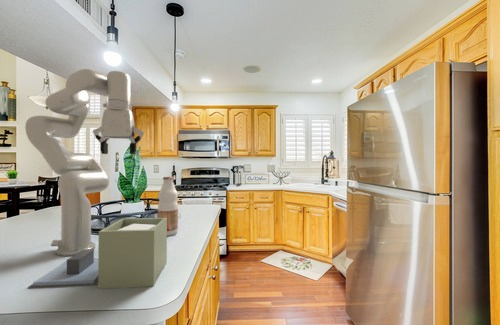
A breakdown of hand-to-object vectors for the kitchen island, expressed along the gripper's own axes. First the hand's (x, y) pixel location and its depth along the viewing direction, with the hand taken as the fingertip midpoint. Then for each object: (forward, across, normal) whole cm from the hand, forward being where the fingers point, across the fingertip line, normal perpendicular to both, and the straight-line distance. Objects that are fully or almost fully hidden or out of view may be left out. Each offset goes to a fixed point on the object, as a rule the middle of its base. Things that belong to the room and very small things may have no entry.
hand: (118, 154), depth 85 cm
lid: (+38, -7, -10) cm, 40 cm away
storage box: (+38, +11, -13) cm, 42 cm away
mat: (+38, -7, -10) cm, 40 cm away
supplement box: (+39, +11, -13) cm, 42 cm away
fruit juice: (+38, +11, +29) cm, 49 cm away
